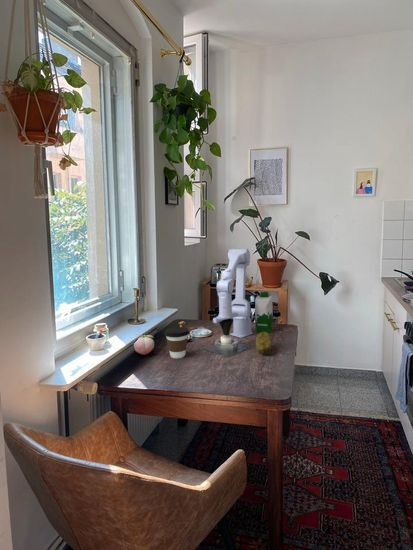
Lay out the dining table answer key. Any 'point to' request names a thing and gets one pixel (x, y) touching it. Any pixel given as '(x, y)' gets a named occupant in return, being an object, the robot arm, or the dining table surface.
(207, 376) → the dining table surface
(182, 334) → the coffee cup
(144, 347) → the decorative fruit
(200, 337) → the dining table surface
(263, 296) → the milk carton
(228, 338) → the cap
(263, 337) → the yellow oval piece
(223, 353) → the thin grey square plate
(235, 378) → the dining table surface
